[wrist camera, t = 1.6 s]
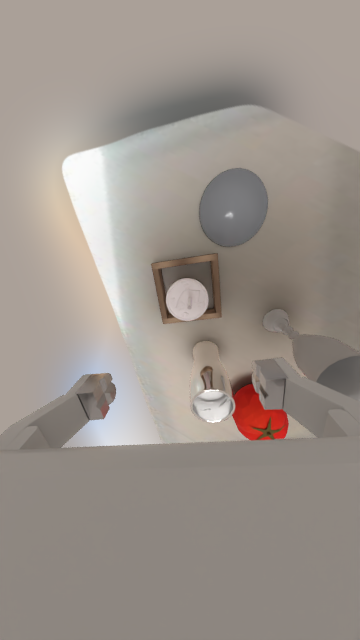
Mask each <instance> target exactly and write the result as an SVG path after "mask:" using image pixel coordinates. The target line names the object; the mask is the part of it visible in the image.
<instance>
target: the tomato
mask: <svg viewBox="0 0 360 640" xmlns="http://www.w3.org/2000/svg"><path fill="white" fill-rule="evenodd" d="M234 401H235V411H234V413H233V414H232V416H233V418H234V420H235V423H236V425H237V427H238V430H239V431H240V432H241V433H242V434H243V435H244V436H245V437H246V438H248V439H249V440H272V439H282V438H285V436H286V434H287V430H288V424H289V423H288V418H287V414H286V412H285V411H284V410H283V409H272V410H264V408H263V405H262V403H261V401H260V399H259V394H258V393H257V392H256V391H255V389H254V386H253V384H249V385H246V386H244V387H242V388H241V389H240V390H239V391H237V392H236V394H235V396H234Z"/></svg>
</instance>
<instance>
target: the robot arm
mask: <svg viewBox="0 0 360 640" xmlns="http://www.w3.org/2000/svg"><path fill="white" fill-rule="evenodd" d="M252 368H253V370H254V372H253V373H252V382H253V386H254V389H255V391H256V392H257V393H258V394H259V399H260V401H261V403H262V405H263V408H264V410H272V409H283V410H284V411H285V412H286V413H287V414H289V415H290V416H291V417H292V418H294V419H295V420H296V421H298V422H299V423H300V424H301V425H303V426H304V427H305V428H306V429H308V430H309V431H310V432H311V433H313V434H314V435H315V436H316V437H318V438H297V439H272V440H248V441H222V442H196V443H171V444H148V445H122V446H97V447H72V448H61V447H62V446H63V445H64V444H65V443H66V442H67V441H68V440H69V439H71V438H72V437H73V436H74V435H75V434H76V433H77V432H78V431H79V430H80V429H81V428H82V427H83V426H84V425H85V424H86V423H87V422H89V420H98V419H104V418H105V416H106V414H107V412H108V410H109V404H111V403H112V402H113V401H114V399H115V395H116V388H115V385H114V384H113V383H112V382H111V381H112V376H111V374H109V373H101V374H87V375H83V376H82V377H81V378H80V379H79V380H78V381H77V382H76V384H75V385H74V386H73V387H72V388H71V389H70V390H69V391H68V392H67V394H66V395H62V396H60V397H59V398H57V399H55V400H54V401H52V402H50V403H49V404H47V405H45V406H44V407H42V408H40V409H38V410H37V411H35V412H33V413H32V414H30V415H28V416H27V417H25V418H23V419H21V420H20V421H18V422H16V423H15V424H13V425H11V426H10V427H9V428H8V429H7V430H5V431H4V432H3V433H2V434H1V435H0V640H360V402H359V401H357V400H355V399H353V398H350V397H348V396H346V395H344V394H341V393H339V392H337V391H335V390H332V389H330V388H328V387H326V386H323V385H321V384H319V383H317V382H314V381H312V380H310V379H308V378H305V377H301V376H300V375H299V374H298V373H297V372H296V371H295V370H294V369H293V368H292V367H291V366H290V365H289V364H288V362H287V361H286V360H285V359H284V358H273V359H266V360H255V361H252Z"/></svg>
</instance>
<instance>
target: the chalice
mask: <svg viewBox="0 0 360 640" xmlns="http://www.w3.org/2000/svg"><path fill="white" fill-rule="evenodd" d="M263 326H264V328H265V329H266V330H268V331H271V332H283V334H285V335H288V337H289V338H290V339H294V340H293V344H292V345H293V355H294V358H295V362H296V364H297V366H298V368H299V369H300V370H301V371H302V372H303V373H304V374H305V375H306V376H307V378H308V379H310V380H312V381H314V382H317V383H319V384H321V385H323V386H326V387H328V388H330V389H332V390H335V391H337V392H339V393H341V394H344V395H346V396H348V397H350V398H353V399H355V400H357V401H359V402H360V353H359V352H358V351H356V350H354V349H353V348H351V347H349V346H348V345H346V344H344V343H343V342H341V341H339V340H336V339H334V338H330V337H325V336H319V335H306V334H303V335H299V333H298V332H297V331H293V328H292V327H291V326H289V318H288V314H287V313H286V312H285V311H283V310H281V309H275V310H272V311H269V312H268V313H267V314H266V315H265V316H264V318H263Z"/></svg>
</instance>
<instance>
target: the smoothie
mask: <svg viewBox="0 0 360 640" xmlns="http://www.w3.org/2000/svg"><path fill="white" fill-rule="evenodd" d="M208 301H209V299H208V293H207V290H206V289H205V287H204V286H203V285H202V284H201V283H200V282H199V281H197V280H195V279H191V278H183V279H180V280H177V281H176V282H174V283H173V284H172V285H171V286H170V288H169V290H168V292H167V295H166V305H167V308H168V310H169V312H170V313H171V314H172V315H173V316H174V317H176V318H177V319H180V320H183V321H191V320H195V319H197V318H199V317H200V316H201V315H203V314H204V312H205V311H206V309H207V307H208Z"/></svg>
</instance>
